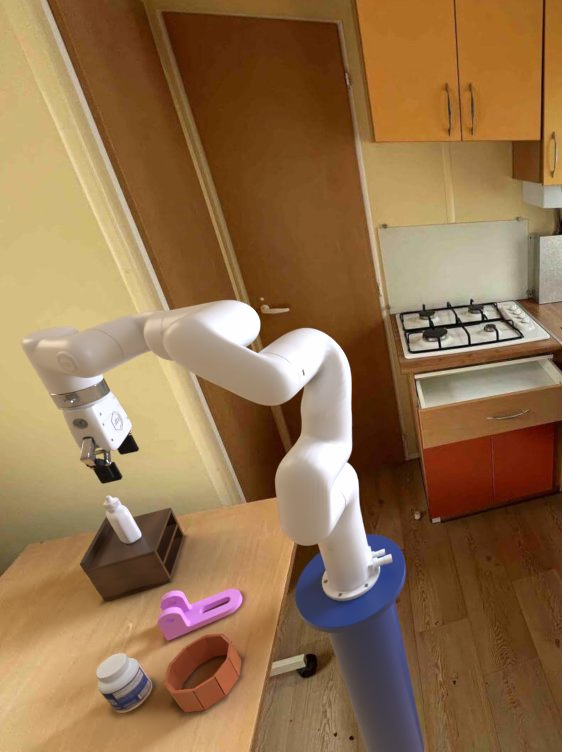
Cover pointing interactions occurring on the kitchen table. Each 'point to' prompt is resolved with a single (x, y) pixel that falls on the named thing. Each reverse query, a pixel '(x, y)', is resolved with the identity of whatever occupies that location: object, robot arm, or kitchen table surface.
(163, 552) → the shelf
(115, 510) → the eye dropper bottle
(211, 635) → the holder cup
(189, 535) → the kitchen table surface
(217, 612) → the bracket
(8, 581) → the kitchen table surface
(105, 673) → the pill bottle
